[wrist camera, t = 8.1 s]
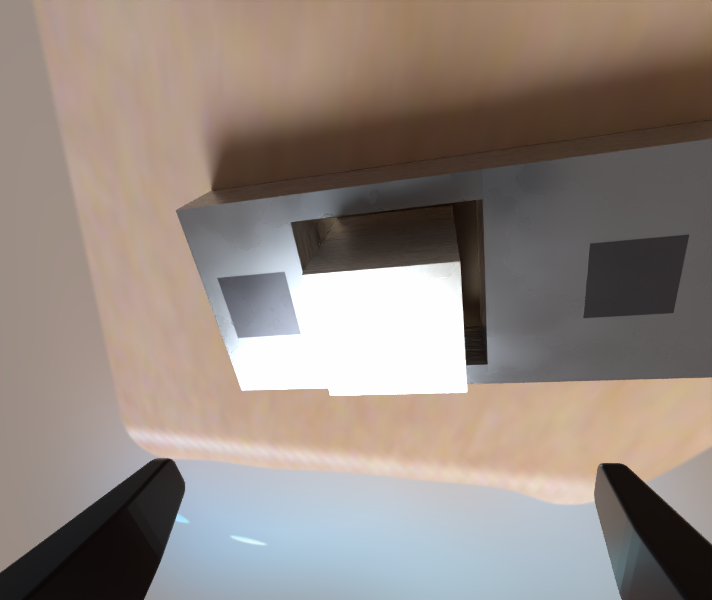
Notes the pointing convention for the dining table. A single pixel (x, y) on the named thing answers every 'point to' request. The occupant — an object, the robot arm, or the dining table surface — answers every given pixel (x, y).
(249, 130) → the dining table surface
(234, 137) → the dining table surface
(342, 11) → the dining table surface
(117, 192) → the dining table surface
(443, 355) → the block
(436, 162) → the grey slotted board
